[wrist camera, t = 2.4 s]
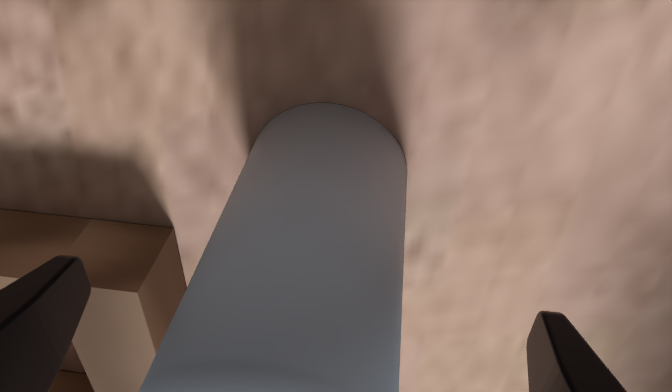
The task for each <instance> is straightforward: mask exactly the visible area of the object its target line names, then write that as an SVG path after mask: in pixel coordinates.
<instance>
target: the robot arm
mask: <svg viewBox="0 0 672 392" xmlns="http://www.w3.org/2000/svg"><path fill="white" fill-rule="evenodd" d="M90 294H91V283H90V280H89V277H88V275H87V272H86V270H85V267H84V264H83V262H82V260H81V259H80V258H79V257H77V256H69V255H58V256H55V257H53V258H52V259H50V260H48V261H47V262H45V263H43V264H42V265H40V266H39V267H37V268H35V269H34V270H32V271H30V272H29V273H27V274H25V275H24V276H22V277H20V278H19V279H17V280H15V281H14V282H12V283H10V284H9V285H7V286H6V287H4V288H2V289H1V290H0V392H48V391H49V389H50V387H51V385H52V383H53V381H54V379H55V378H56V376H57V374H58V372H59V370H60V368H61V366H62V364H63V361H64V359H65V357H66V355H67V352H68V350H69V347H70V345H71V342H72V340H73V337H74V335H75V332H76V330H77V327H78V325H79V322H80V320H81V317H82V315H83V312H84V310H85V307H86V305H87V302H88V300H89V297H90ZM527 364H528V380H529V392H627V391H626V390H625V389H624V388H623V386H622V385H621V384H620V383H619V382H618V380H617V379H616V378H615V377H614V375H613V374H612V373H611V372H610V370H609V369H608V368H607V367H606V366H605V364H604V363H603V362H602V361H601V359H600V358H599V357H598V356H597V354H596V353H595V352H594V351H593V350H592V348H591V347H590V346H589V345H588V343H587V342H586V341H585V340H584V338H583V337H582V336H581V335H580V334H579V332H578V331H577V330H576V329H575V327H574V326H573V325H572V324H571V322H570V321H569V320H568V319H567V318H566V316H565V315H563V314H562V313H559V312H550V311H540V312H539V313H538V314H537V316H536V319H535V321H534V324H533V326H532V329H531V331H530V333H529V336H528V339H527Z"/></svg>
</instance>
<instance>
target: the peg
mask: <svg viewBox="0 0 672 392" xmlns="http://www.w3.org/2000/svg"><path fill="white" fill-rule="evenodd" d="M406 187H407V167H406V161H405V157H404V154H403V152H402V150H401V147H400V145H399V144H398V142H397V141H396V139H395V138H394V136H393V135H392V134H391V133H390V132H389V130H388V129H386V128H385V127H384V126H383V125H382V124H381V123H380V122H378V121H377V120H375V119H374V118H373V117H371V116H369V115H367V114H365V113H364V112H362V111H359V110H357V109H354V108H351V107H348V106H344V105H339V104H333V103H311V104H305V105H300V106H296V107H294V108H291V109H288V110H286V111H284V112H282V113H280V114H279V115H277V116H276V117H274V118H273V119H272V120H271V121H270V122H269V123H267V124H266V125H265V127H264V128H263V129H262V131H261V132H260V133H259V135H258V137H257V139H256V141H255V143H254V145H253V147H252V150H251V152H250V154H249V156H248V158H247V160H246V162H245V165H244V167H243V169H242V171H241V173H240V175H239V177H238V180H237V182H236V184H235V186H234V188H233V190H232V192H231V195H230V197H229V199H228V201H227V203H226V205H225V207H224V210H223V212H222V214H221V216H220V218H219V220H218V222H217V225H216V227H215V229H214V231H213V233H212V235H211V238H210V240H209V242H208V244H207V246H206V248H205V250H204V253H203V255H202V257H201V259H200V261H199V263H198V265H197V268H196V270H195V272H194V274H193V276H192V278H191V280H190V283H189V285H188V287H187V289H186V291H185V293H184V295H183V298H182V300H181V302H180V304H179V306H178V308H177V310H176V313H175V315H174V317H173V319H172V321H171V323H170V325H169V328H168V330H167V332H166V334H165V336H164V338H163V340H162V343H161V345H160V347H159V349H158V351H157V353H156V355H155V358H154V360H153V362H152V364H151V366H150V368H149V370H148V373H147V375H146V377H145V379H144V381H143V383H142V385H141V388H140V390H139V392H399V367H400V342H401V316H402V290H403V264H404V238H405V213H406Z"/></svg>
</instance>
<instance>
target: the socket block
mask: <svg viewBox="0 0 672 392" xmlns="http://www.w3.org/2000/svg"><path fill="white" fill-rule="evenodd" d="M58 255H69V256H77V257H79V258H80V259H81V260H82V262H83V264H84V267H85V270H86V272H87V275H88V277H89V280H90V283H91V294H90V297H89V300H88V302H87V305H86V307H85V310H84V312H83V315H82V317H81V320H80V322H79V325H78V327H77V330H76V332H75V335H74V337H73V340H72V343H73V345H74V348H75V350H76V352H77V354H78V356H79V359H80V361H81V363H82V365H83V367H84V370H85V372H86V374H81V373H74V372H67V371H59V372H58V374H57V376H56V378H55V379H54V381H53V383H52V385H51V387H50V389H49V391H48V392H139V390H140V388H141V385H142V383H143V381H144V379H145V377H146V375H147V373H148V370H149V368H150V366H151V364H152V362H153V360H154V358H155V355H156V353H157V351H158V349H159V347H160V345H161V343H162V340H163V338H164V336H165V334H166V332H167V330H168V328H169V325H170V323H171V321H172V319H173V317H174V315H175V313H176V310H177V308H178V306H179V304H180V302H181V300H182V298H183V295H184V293H185V291H186V284H185V279H184V275H183V270H182V265H181V261H180V256H179V251H178V247H177V242H176V237H175V233H174V228H167V227H158V226H149V225H140V224H131V223H122V222H113V221H104V220H95V219H86V218H77V217H68V216H58V215H49V214H40V213H31V212H22V211H13V210H4V209H0V290H1V289H2V288H4V287H6V286H7V285H9V284H10V283H12V282H14V281H15V280H17V279H19V278H20V277H22V276H24V275H25V274H27V273H29V272H30V271H32V270H34V269H35V268H37V267H39V266H40V265H42V264H43V263H45V262H47V261H48V260H50V259H52V258H53V257H55V256H58Z"/></svg>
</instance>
